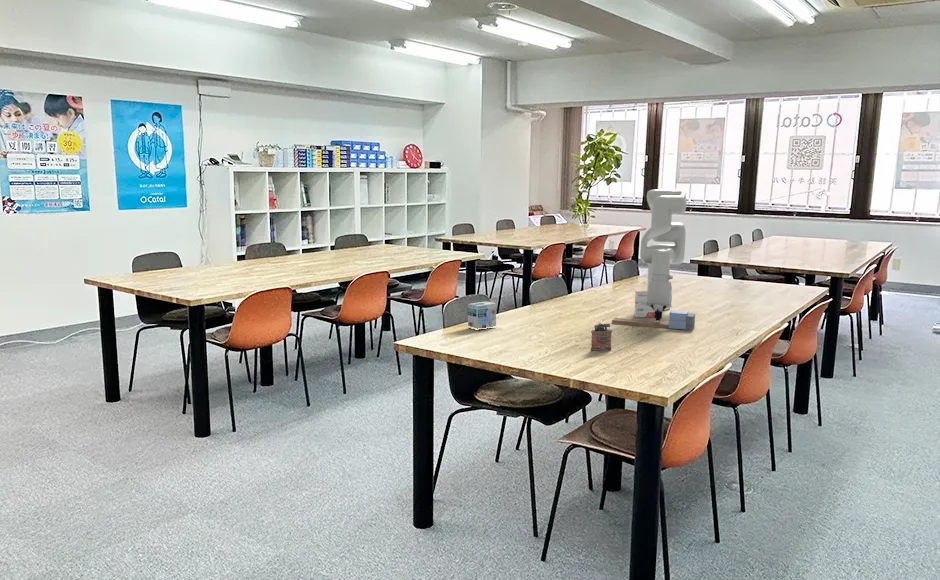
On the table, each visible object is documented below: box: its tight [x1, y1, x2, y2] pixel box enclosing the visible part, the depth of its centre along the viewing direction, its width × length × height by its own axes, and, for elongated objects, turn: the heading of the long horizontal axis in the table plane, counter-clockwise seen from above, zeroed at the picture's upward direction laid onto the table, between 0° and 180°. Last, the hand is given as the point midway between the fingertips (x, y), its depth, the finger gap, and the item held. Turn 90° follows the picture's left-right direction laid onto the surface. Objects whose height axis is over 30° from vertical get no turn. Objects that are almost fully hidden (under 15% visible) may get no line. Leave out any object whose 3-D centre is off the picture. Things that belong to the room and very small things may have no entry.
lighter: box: [590, 323, 613, 352], centre depth 259 cm, size 8×3×10 cm, turn 106°
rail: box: [611, 312, 696, 332], centre depth 305 cm, size 8×34×6 cm, turn 67°
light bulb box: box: [467, 300, 497, 329], centre depth 297 cm, size 11×7×11 cm, turn 129°
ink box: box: [634, 289, 655, 318], centre depth 325 cm, size 9×5×12 cm, turn 84°
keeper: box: [668, 309, 690, 330], centre depth 300 cm, size 8×7×6 cm
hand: (658, 320), depth 304 cm, fingers closed
